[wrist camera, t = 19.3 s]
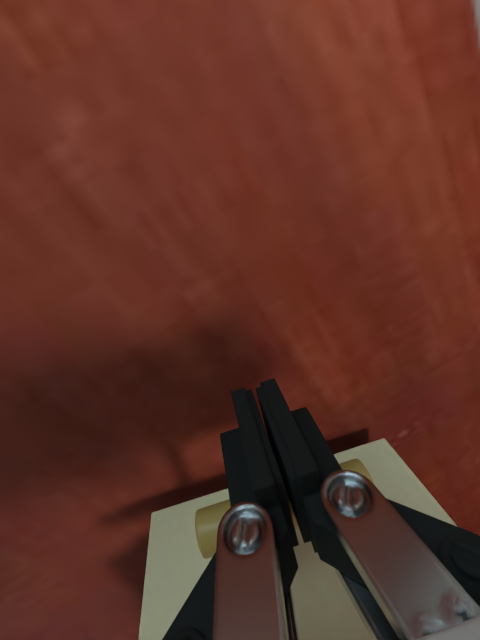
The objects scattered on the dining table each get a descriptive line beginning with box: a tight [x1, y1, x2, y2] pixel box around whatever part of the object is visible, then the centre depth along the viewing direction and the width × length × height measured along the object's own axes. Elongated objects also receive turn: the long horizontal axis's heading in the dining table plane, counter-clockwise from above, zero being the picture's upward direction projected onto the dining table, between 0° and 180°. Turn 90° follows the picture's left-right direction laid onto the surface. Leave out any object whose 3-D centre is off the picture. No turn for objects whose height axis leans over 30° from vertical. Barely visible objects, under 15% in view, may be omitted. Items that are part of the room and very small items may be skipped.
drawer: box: [139, 438, 458, 640], centre depth 14 cm, size 18×13×7 cm
